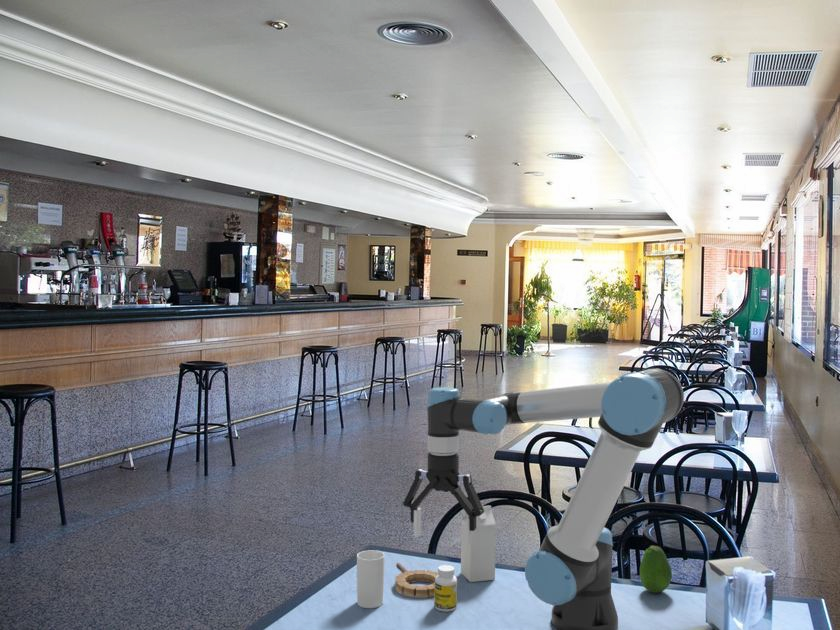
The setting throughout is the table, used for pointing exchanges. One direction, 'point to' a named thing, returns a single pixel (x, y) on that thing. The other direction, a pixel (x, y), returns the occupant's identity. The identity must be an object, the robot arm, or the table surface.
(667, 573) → the fruit
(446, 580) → the supplement bottle
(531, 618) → the table surface
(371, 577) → the mug
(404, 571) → the brown wooden stick
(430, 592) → the bead ring
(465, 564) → the milk carton
